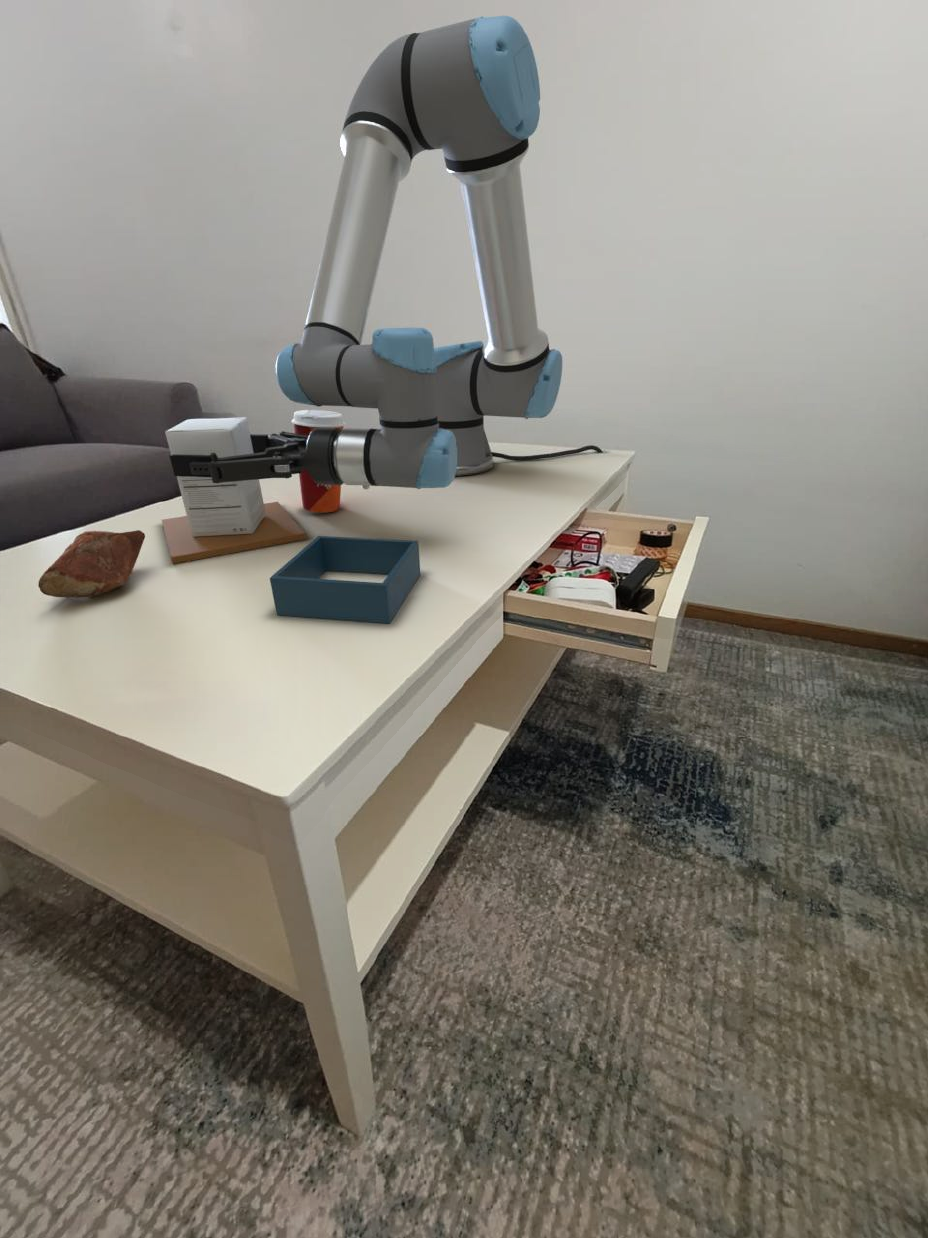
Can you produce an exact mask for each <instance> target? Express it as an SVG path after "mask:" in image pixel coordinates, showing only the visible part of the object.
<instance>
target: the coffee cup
mask: <svg viewBox="0 0 928 1238" xmlns="http://www.w3.org/2000/svg"><path fill="white" fill-rule="evenodd" d="M290 422H291V423H292V424H293V429H294V433H296V434H302V435H308V436H309V435H310V433H311V432H312V431H313V430H314V429H316V428H339V429H341V430H343V429H344V426H346V424H347V423H346V422H345V421H344V417H343V414H342V413H340V412H336V411H331V410H323V409H321V410H320V409H302V410H301V409H300V410H296V411H294V413H293V418H292V419H291V421H290ZM298 477H299V485H300V487H299V488H300V494H301V504H302V508H303V510H305V511H307V512H312V513H321V514H322V513H323V514H324V513H332V512H336V511H338V510H339V509H340V506H341V491H342V485H321V484H317V483H316V482H314V480H313V479H312V478H311V476H310V474H309V473H308V472H307V471H306V470H302V473H298Z"/></svg>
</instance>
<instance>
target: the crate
mask: <svg viewBox="0 0 928 1238" xmlns="http://www.w3.org/2000/svg"><path fill="white" fill-rule="evenodd" d="M326 571H328V572H329V571H330V572H342V573H343V572H345V573H363V574H375V575H376V574H378V575H387V576H386V578H385V579H384V580H383V581H382V582H376V581H375V582H373V581H357V580H343V579H327V578H326V579H325V578H320V577H321V576H322V575H323V574H324V573H325V572H326ZM420 575H421V559H420V545H419V540H410V539H409V540H408V539H391V538H390V539H388V538H371V537H370V538H369V537H351V536H350V537H348V536H329V535H328V536H327V535H318V536H316V537H315V538H314V539H313V540H312V541H311V542H310V543H308V544H307V545H306V546H304V547H303V548H302V549H301V550H300V551H299V552H298V553H297V554H296V555H294V556H293V557H292V558H291V559H290V560H288V561H287V562H286V563H285V564H284V565H282V567H280V568H279V570H277V571H276V572H275V573H274V574H272V575H271V576H270V577H269V582H270V587H271V593H272V598H273V603H274V607H275V612H276V616H285V617H299V618H312V619H322V620H323V619H325V620H337V621H338V620H339V621H352V622H365V623H376V624H377V623H378V624H390V623H391V622H392V620H393V619H394V617H395V616H396V614H397V612H398V611H399V609H400V608H401V606H402V605H403V603H404V601H405V600H406V598H407V596H409V593H410V592H411V590H412V588H413V587H414V585H415V584H416V582H417V580H418V579H419V577H420Z"/></svg>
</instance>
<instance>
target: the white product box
mask: <svg viewBox="0 0 928 1238" xmlns="http://www.w3.org/2000/svg"><path fill="white" fill-rule="evenodd" d="M164 433H165V437H166V441H167V444H168V445H167V446H168V449H169V452H170V455H173V454H179V455H210V453H214V452H215V454H216V455H217V457H218V458H222V457H230V456H238V455H246V454H254V452H253V447H252V442H251V437H250V434H251V433H250V428H249V423H248V419H247V417H246V416H244V417H243V416H241V417H226V418H225V417H222V418H189V419H186V420H184V421H182V422H180V423H179V424H176V425H174V426H173V427H171V428H169V429H167V430H165V431H164ZM176 479H177V484H178V487H179V492H180V495H181V499H182V503H183V507H184V510H185V514H186V516H187V518H188V522H189V526H190V530H191V533H192V537H199V536H219V535H239V534H253V533H254V532H255V530H256V529H257V527H258V526H259V524H260V523H261V521H262V519H263V518H264V516H265V515H266V512H265V507H264V504H265V502H264V499H263V498H264V497H263V492H262V488H261V487H262V486H261V483H260V479H256V480H245V481H234V482H222V483H213V482H212V478H211V477H187V476H176Z"/></svg>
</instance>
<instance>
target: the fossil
mask: <svg viewBox="0 0 928 1238" xmlns="http://www.w3.org/2000/svg"><path fill="white" fill-rule="evenodd" d="M145 538H146V534H145V532H143V531H142V530H140V529H137V530H130V531H125V532H124V531H123V532H115V531H107V530H89V531H87V530H86V531H84V532H82V533H79V534H78V535H77V536H76V537H75V538H74V540H73V542H71V543H70V544H69V545H68V546H67V547H66V548H65V549H64V551H63V552H62V554H60V556H58V558H57V559H56V560H55V561H54V562H53V564H51V565H50V566H48V568H47V569H46V570H45V571H44V572H43V574H42V575H41V576H40V578H39V580H38V583H37V584H38V588H39V591H40V592H41V593H42V594H43V595H45V596H49V597H54V598H86V597H88V598H89V597H92V596H96V595H97V596H98V595H101V594H104V593H108V592H111V591H112V590H114V589H116V588H120V587H122V586H123V585H125V584H126V583H127V582H128V581H129V579H130V578H131V575H132V574H133V570H134V568H135V565H136V563H137V561H138V557H139V555H140V552H141V550H142V547H143V544H144V541H145Z"/></svg>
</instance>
